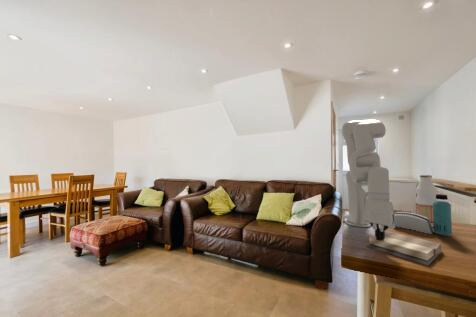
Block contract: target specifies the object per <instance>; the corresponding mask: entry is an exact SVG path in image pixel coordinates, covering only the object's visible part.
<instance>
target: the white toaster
mask: <svg viewBox="0 0 476 317" xmlns="http://www.w3.org/2000/svg"><path fill="white" fill-rule="evenodd" d="M394 216H395V223H394V225H395V228H400V227H401V229H405V228H406V230H409V229H411V230H410V231H414V230H416V231H415V232H419V231H420V233H423V232H424V234H428V233H429V235H433V233H435V232H434V229H433V228H432V225H431V222H430V220H429V218H427V217H424V216H421V215H418V214H416V213H414V212H408V211H396V212H394Z"/></svg>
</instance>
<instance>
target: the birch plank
mask: <svg viewBox="0 0 476 317" xmlns="http://www.w3.org/2000/svg"><path fill="white" fill-rule="evenodd" d="M368 239H369V242H368V244H369V243H370V244H373V245H377V246H380V247H383V248H387V249H390V250H393V251H397V252H400V253H404V254H407V255H410V256H414V257H417V258H421V259H424V260H429V259H430V258H431V257H432V256H434V249H433V248H429V247H425V246H421V245H417V244H413V243H410V242H406V241H402V240H398V239H394V238H390V237H386V236H385V238H384V240H381V241H379V240H376V237H375V235H372V236H370V237H369V238H368Z"/></svg>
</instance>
